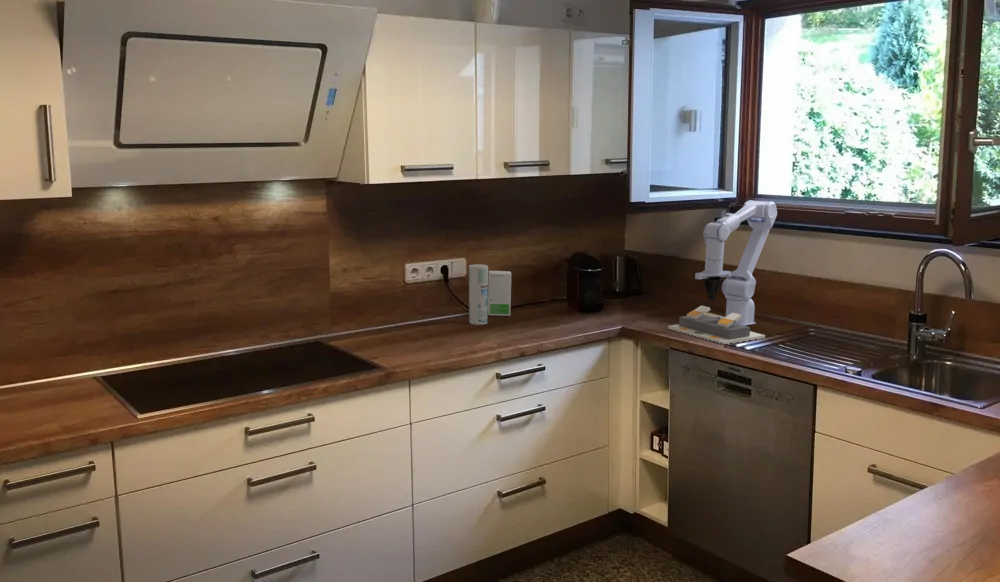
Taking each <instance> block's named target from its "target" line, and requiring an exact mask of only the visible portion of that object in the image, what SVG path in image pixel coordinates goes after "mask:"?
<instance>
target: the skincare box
mask: <svg viewBox="0 0 1000 582" xmlns="http://www.w3.org/2000/svg"><path fill="white" fill-rule="evenodd" d="M511 296H512V272H511V271H505V270H488V310H487V316H496V317H497V316H499V317H501V316H503V317H506V316H507V317H511V306H512V305H511V303H512V302H511V301H512V300H511V299H512V297H511Z"/></svg>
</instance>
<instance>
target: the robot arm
mask: <svg viewBox="0 0 1000 582" xmlns="http://www.w3.org/2000/svg"><path fill="white" fill-rule="evenodd" d="M777 216H778V209H777V205H776V203H775V202H774V201H761V200H751V199H750V200H747V201H746V202H744V203H743V206H742V207H741V208H740V209H739V210H738V211H736V212H735V213H732V212H731V213H730V212H727V213H725V215H724V216H723V217H721V218H718V219H716V221H715V222H709V223H707V224H706V225H705V226H704V229H703V231H702V233H703V234H702V235H703V238H704V243H705V245H706V246H705V259H704V260H705V263H704V270H703V271H700V272H695V273H694V274H695V276H694V279H695V280H702V283H703V284H704V287H705V289H706V294H707V295H706V296H707V299H708V300H711V301H714V300H716V297H717V296H718V294H719V293H718V292H719V290H720V287H721V292H722V293H723V295H724V298H725V299H726V305H725V306H726V307H725V309H726V310H725V317H726V316H728V315H729V314H731V313H736V314H740V315H742V318H740V319H739V320H738V321H736V324H740V325H744V326H750V325H756V324H757V323H756V322H755V311H756V310H755V309H756V308H755V303H754V300H753V299H752V297H753V296H754V294H755V289H756V284H757V280H756V279H755V277H754V276H753V272H754V270H755V267H756V265H757V262H758V260H759V257H760V256H761V253H762V250H763V248H764V246H765V243H766V240H767V238H768V235H769V232H770V230H771V228H773V226H774V223H775V221H776V218H777ZM746 220H747V223H748V224H747V225H748V226H750V228H752V232H751V234H750V236H749V238H748V242H747V243H746V246H745V249H744V251H743V253H742V256H741V259H740V260H739V264H738V265H737V268H736V269H735V270H733V271H730V270H723V267H724V255H725V254H724V252H725V241H727V239H728V238H729V236H730V234H731V233H733V232H734V231H736V230H737V229H739V227H740V225H741V223H742V222H744V221H746ZM725 278H726V279H725Z"/></svg>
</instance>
